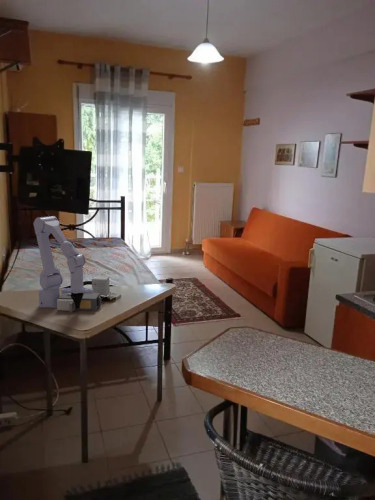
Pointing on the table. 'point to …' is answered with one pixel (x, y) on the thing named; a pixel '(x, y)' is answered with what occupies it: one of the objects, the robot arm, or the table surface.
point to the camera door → (65, 304)
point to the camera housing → (85, 301)
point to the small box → (101, 285)
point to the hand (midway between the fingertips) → (77, 307)
